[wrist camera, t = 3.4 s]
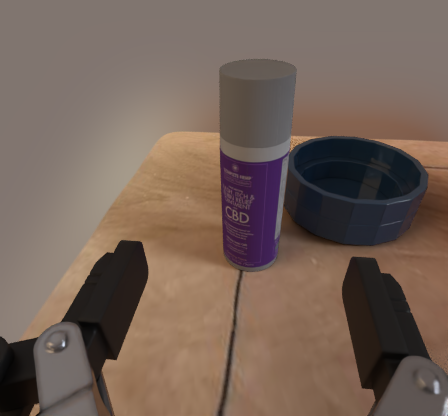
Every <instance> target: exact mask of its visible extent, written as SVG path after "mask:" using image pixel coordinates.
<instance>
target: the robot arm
mask: <svg viewBox="0 0 448 416" xmlns="http://www.w3.org/2000/svg"><path fill="white" fill-rule="evenodd" d="M147 279H148V265H147V261H146V256H145V252H144V248H143V244H142V242H140V241H127V240H121V241H120V242H119V244H118V246H117V247H116V249H115V251H114V253H108V252H107V253H106V254H105V255H104V256H103V257H101V258H100V259H99V260H98V261H97V262H96V263H95V265H94V267H93V269H92V270H91V272H90V275H88V277H87V279H86V281H85V284H83V286H82V287H81V289H80V291H79V292H78V294H77V296H76V298H75V299H74V301H73V303H72V304H71V306H70V308H69V310H68V311H67V313H66V315H65V316H64V318H63V320H62V321H61V322H60V323H57V324H55V325H53V326H51V327H49V328H48V329H46V330H45V331H44V332H43V333H42V334H41V335H40V336H39V337H37V338H33V339H29V340H24V341H19V342H14V343H10V344H8V343H7V342H6V340H5V339H4V338H2V337H0V416H29V415H30V412H31V410H32V408H33V406H34V404H38V403H39V405H40V412H39V414H37V415H36V416H115V415H114V411H113V408H112V404H111V401H110V397H109V393H108V390H107V386H106V383H105V379H104V376H103V372H102V367H103V365H104V363H105V360H106V359H111V360H117V357H118V355H119V352H120V350H121V347H122V345H123V342H124V339H125V337H126V334H127V332H128V329H129V327H130V324H131V321H132V319H133V316H134V314H135V311H136V309H137V306H138V303H139V301H140V298H141V296H142V293H143V291H144V288H145V285H146V283H147ZM342 298H343V303H344V308H345V312H346V317H347V321H348V326H349V331H350V335H351V340H352V345H353V349H354V354H355V359H356V363H357V368H358V372H359V377H360V382H361V386H362V388H365V389H373V391H374V395H375V399H376V401H375V402H374V404H373V406H372V408H371V410H370V412H369V413H368V415H367V416H448V375H447V374H446V372H445V371H444V370H443V369H442V368H441V367H439V366H438V365H437V364H436V363H434V362H432V360H431V358H430V357H429V354H428V352H427V350H426V347H425V345H424V342H423V340H422V337H421V335H420V332H419V330H418V327H417V325H416V322H415V320H414V318H413V315H412V313H411V312H410V308H409V305H408V303H407V302H406V298H405V295H404V293H403V290H402V288H401V286H400V285H399V283H398V282H397V281H396V280H395V279H394V278H393V277H392V276H391V274H386V273H381V272H380V269H379V266H378V264H377V261H376V259H375V258H366V257H352V258H351V260H350V263H349V266H348V269H347V272H346V275H345V278H344V281H343V286H342Z"/></svg>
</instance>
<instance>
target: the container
mask: <svg viewBox="0 0 448 416" xmlns="http://www.w3.org/2000/svg"><path fill="white" fill-rule="evenodd" d="M219 72H220V167H221V195H222V222H223V249H224V256H225V258H226V260H227V261H228V262H229V263H230V264H231V265H232V266H233V267H235V268H237V269H240V270H243V271H250V272H254V271H260V270H264V269H266V268H268V267H269V266H271V265H272V264H273V263H274V262H275V260H276V258H277V253H278V245H279V237H280V228H281V220H282V211H283V203H284V194H285V185H286V177H287V168H288V160H289V151H290V140H291V128H292V117H293V105H294V92H295V82H296V67H295V66H293V65H292V64H289V63H286V62H283V61H277V60H268V59H248V60H239V61H234V62H230V63H227V64H225V65H223V66H222V67H220V71H219Z"/></svg>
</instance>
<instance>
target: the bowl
mask: <svg viewBox="0 0 448 416" xmlns="http://www.w3.org/2000/svg"><path fill="white" fill-rule="evenodd" d="M427 185H428V173H427V172H426V170H425V169H424V168H423V166H422V165H421V163H420V162H419V161H418V160H417V159H415V158H413V157H412V156H410V155H409V154H407V153H406V152H404V151H402V150H401V149H398V148H395V147H393V146H390V145H387V144H384V143H382V142H379V141H374V140H369V139H364V138H358V137H345V136H328V137H322V138H316V139H310V140H308V141H306V142H303V143H301V144H299V145H297V146H295V147H294V149H293V150H292V151H291V152H290V154H289V160H288V168H287V177H286V185H285V194H284V207H285V209H286V210H287V212H288V213H289V214H290V216H291V217H292V218H293V220H294V221H295V222H296V223H298V224H299V225H301V226H302V227H304V228H305V229H307V230H308V231H310V232H311V233H313V234H314V235H317V236H320V237H323V238H326V239H329V240H332V241H335V242H339V243H343V244H354V245H370V246H371V245H376V244H380V243H385V242H389V241H393V240H396V239H397V238H398V237H399V236H401V235H402V234H403V233H404V232H405V231H406V230H408V229H409V228H410V226H411V223H412V221H413V219H414V217H415V214H416V212H417V210H418V208H419V205H420V203H421V201H422V199H423V196H424V194H425V192H426V190H427Z"/></svg>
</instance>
